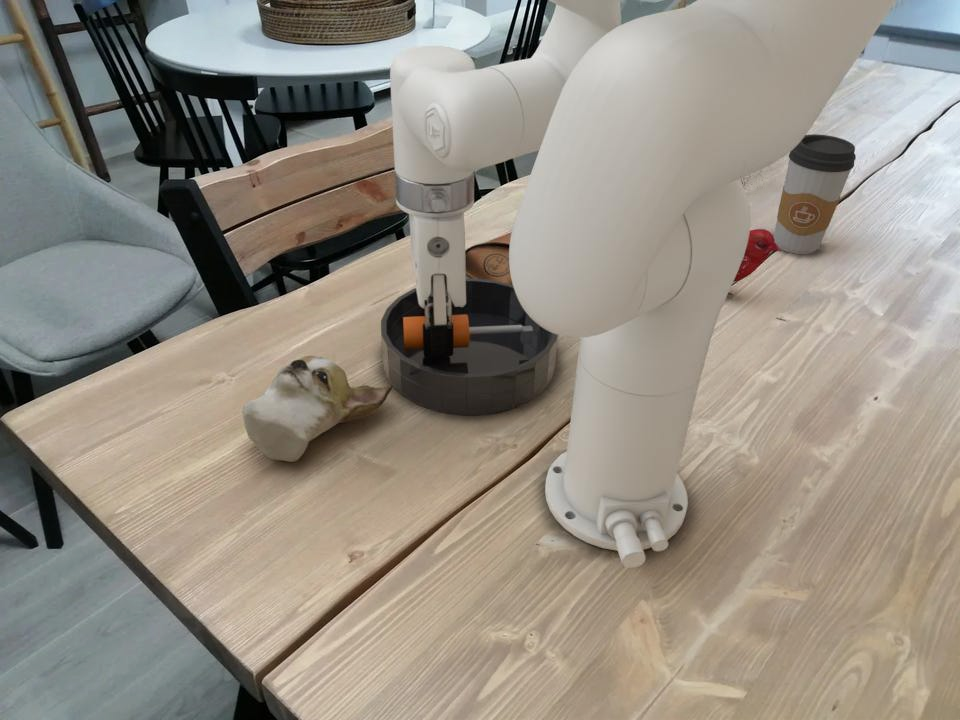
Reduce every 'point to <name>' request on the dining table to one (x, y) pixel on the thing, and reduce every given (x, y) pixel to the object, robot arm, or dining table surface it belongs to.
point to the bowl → (471, 355)
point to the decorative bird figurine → (756, 252)
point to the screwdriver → (458, 331)
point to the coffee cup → (812, 191)
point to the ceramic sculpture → (306, 406)
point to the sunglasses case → (490, 260)
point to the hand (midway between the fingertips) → (437, 342)
